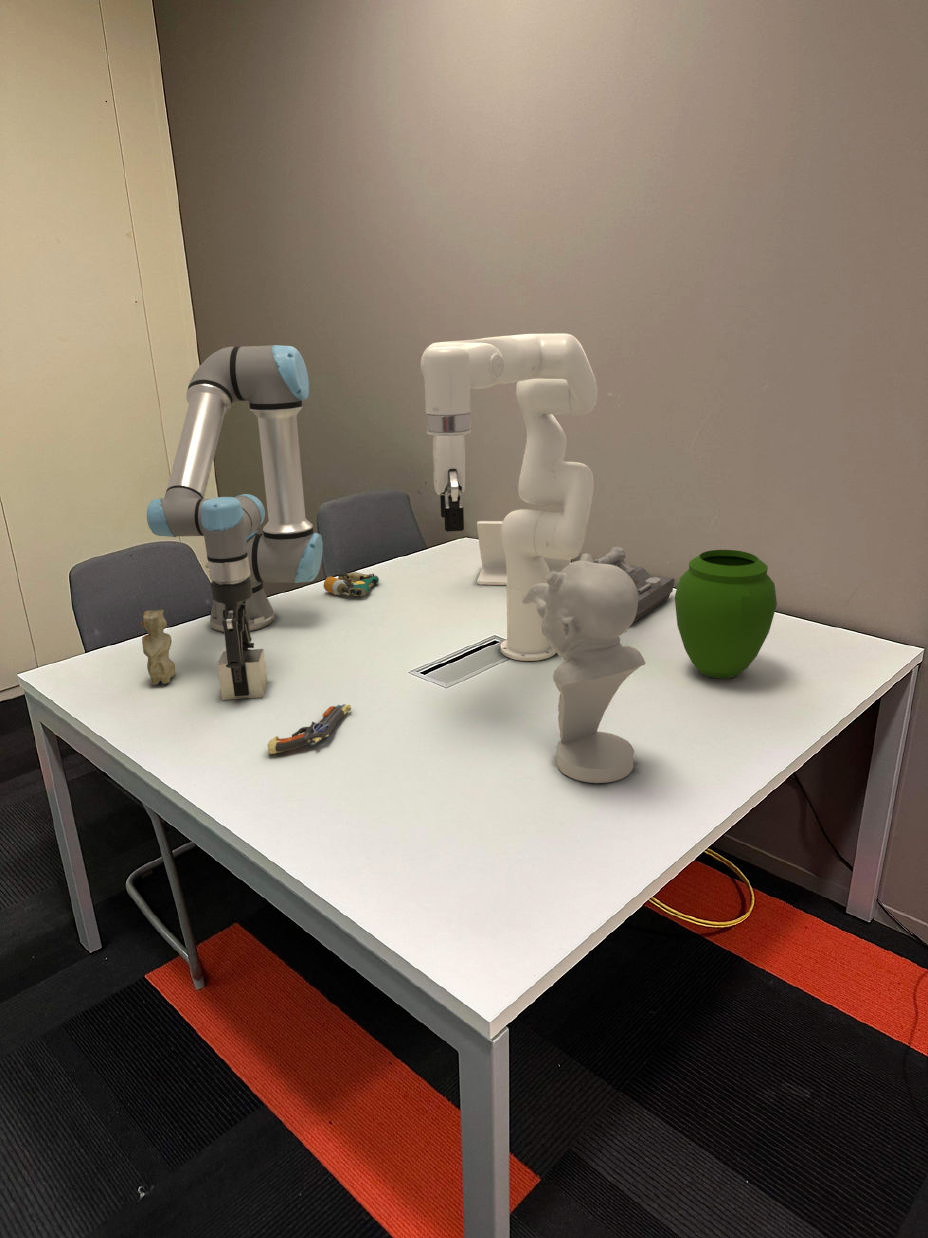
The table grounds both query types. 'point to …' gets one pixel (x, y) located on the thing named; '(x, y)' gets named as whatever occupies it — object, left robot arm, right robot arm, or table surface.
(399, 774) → the table surface
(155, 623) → the sculpture
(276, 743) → the toy gun
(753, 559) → the vase
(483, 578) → the tablet stand
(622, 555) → the toy
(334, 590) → the spray gun
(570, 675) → the bust sculpture
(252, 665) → the block
